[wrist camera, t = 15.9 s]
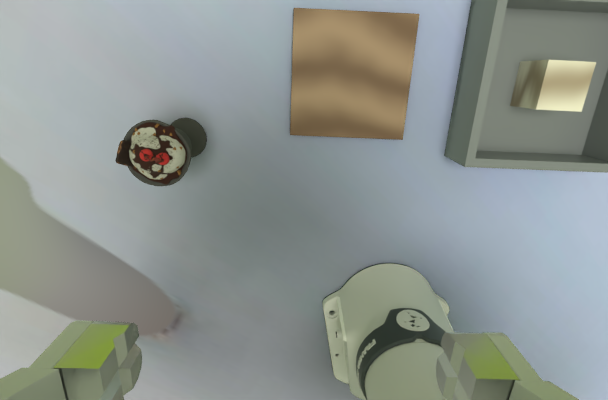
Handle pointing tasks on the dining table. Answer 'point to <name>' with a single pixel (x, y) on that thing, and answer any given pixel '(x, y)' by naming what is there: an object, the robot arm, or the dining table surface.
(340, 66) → the walnut board
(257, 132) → the dining table surface
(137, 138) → the sundae
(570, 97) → the cream block
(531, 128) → the bin
